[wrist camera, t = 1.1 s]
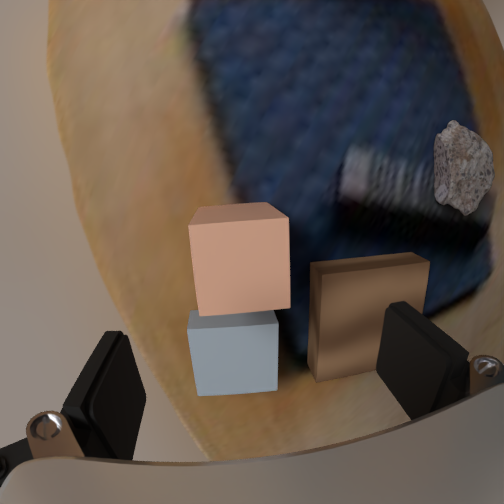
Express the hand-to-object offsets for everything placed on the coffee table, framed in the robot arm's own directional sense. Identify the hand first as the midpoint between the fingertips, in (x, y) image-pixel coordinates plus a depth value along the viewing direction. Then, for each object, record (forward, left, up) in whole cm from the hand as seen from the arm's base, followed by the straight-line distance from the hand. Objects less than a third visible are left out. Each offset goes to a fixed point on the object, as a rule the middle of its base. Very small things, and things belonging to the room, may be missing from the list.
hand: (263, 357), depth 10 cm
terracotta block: (0, 0, -18) cm, 18 cm away
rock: (-6, +25, -18) cm, 32 cm away
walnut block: (+9, +13, -18) cm, 24 cm away
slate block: (+11, -1, -18) cm, 21 cm away
